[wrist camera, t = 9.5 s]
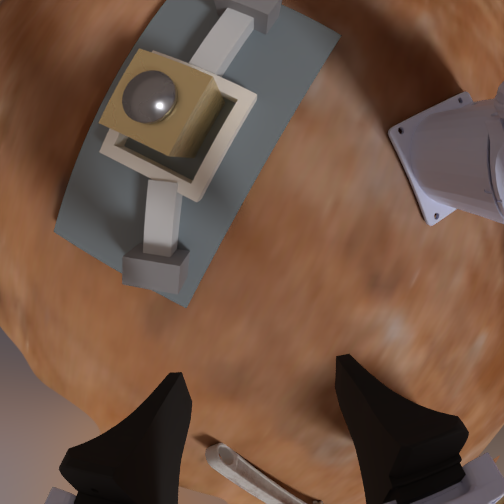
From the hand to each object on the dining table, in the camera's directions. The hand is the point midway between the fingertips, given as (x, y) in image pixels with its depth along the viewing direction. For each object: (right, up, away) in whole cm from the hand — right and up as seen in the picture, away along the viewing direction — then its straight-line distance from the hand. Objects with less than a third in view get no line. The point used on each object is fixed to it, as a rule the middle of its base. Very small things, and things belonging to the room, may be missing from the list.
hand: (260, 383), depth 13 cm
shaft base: (-5, +14, +5) cm, 16 cm away
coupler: (-5, +14, +4) cm, 16 cm away
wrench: (+4, -26, +18) cm, 32 cm away
